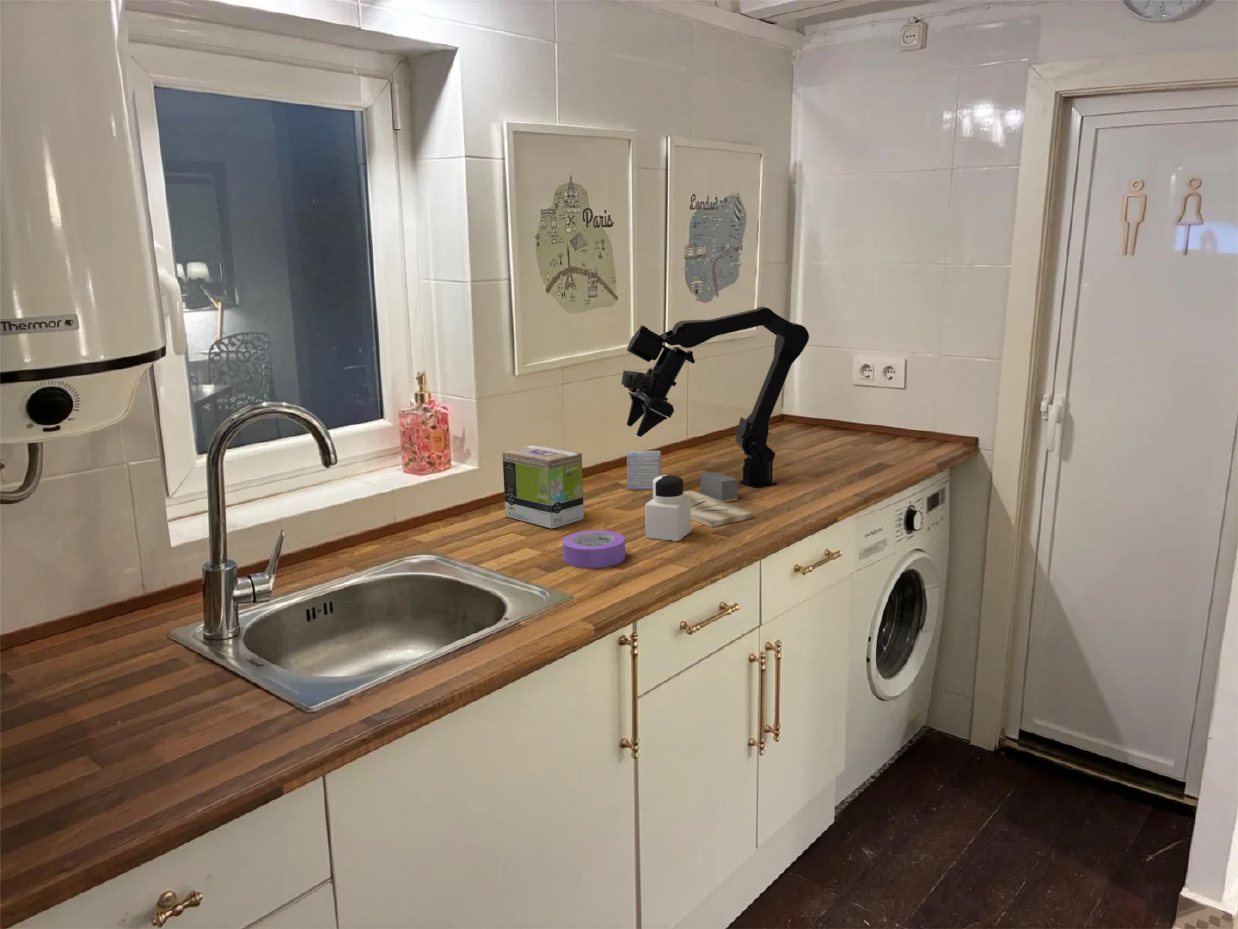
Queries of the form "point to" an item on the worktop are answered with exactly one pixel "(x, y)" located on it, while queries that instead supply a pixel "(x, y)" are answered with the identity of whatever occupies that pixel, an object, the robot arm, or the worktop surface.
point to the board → (714, 510)
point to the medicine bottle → (668, 510)
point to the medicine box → (643, 469)
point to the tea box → (543, 485)
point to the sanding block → (718, 486)
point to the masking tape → (594, 549)
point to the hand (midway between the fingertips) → (633, 430)
